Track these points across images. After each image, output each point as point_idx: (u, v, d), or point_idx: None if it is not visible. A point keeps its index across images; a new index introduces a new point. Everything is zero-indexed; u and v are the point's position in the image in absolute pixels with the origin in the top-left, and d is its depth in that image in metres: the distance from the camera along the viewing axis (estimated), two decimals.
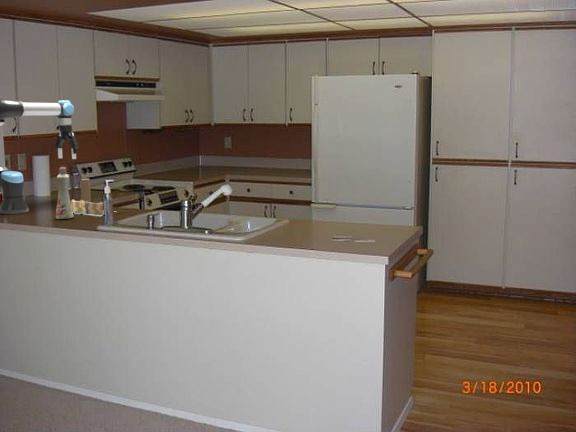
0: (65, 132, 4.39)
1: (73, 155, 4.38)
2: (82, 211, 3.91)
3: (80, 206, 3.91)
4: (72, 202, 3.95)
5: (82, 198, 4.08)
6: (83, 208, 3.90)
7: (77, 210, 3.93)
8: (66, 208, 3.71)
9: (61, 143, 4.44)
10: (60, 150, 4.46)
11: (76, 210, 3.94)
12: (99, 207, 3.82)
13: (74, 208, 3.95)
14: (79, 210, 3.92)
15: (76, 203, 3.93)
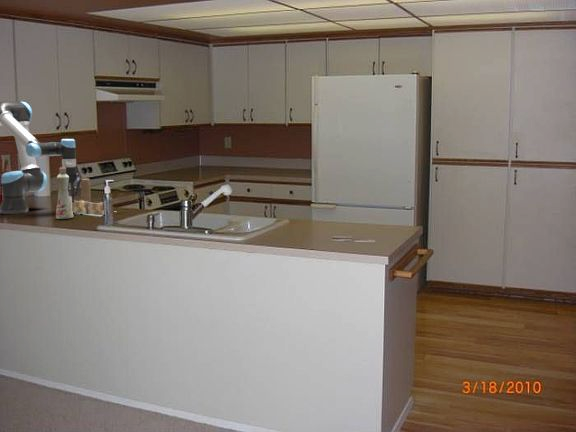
0: None
1: None
2: (82, 211, 3.91)
3: (80, 206, 3.91)
4: (72, 202, 3.95)
5: (82, 198, 4.08)
6: (83, 208, 3.90)
7: (77, 210, 3.93)
8: (66, 208, 3.71)
9: (71, 189, 3.92)
10: None
11: (76, 210, 3.94)
12: (99, 207, 3.82)
13: (74, 208, 3.95)
14: (79, 210, 3.92)
15: (76, 203, 3.93)
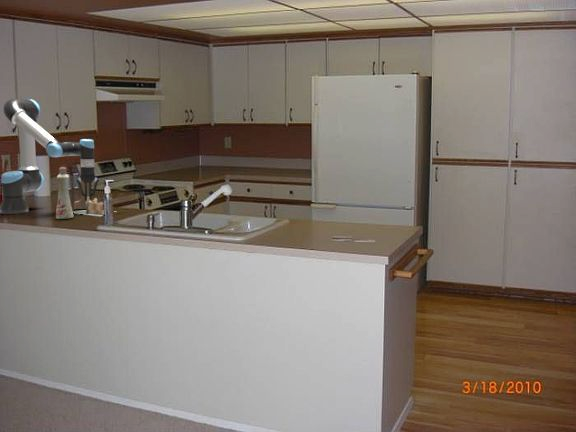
0: None
1: None
2: None
3: None
4: None
5: (82, 198, 4.08)
6: None
7: None
8: (66, 208, 3.71)
9: (89, 189, 3.96)
10: None
11: None
12: (99, 207, 3.82)
13: None
14: None
15: None
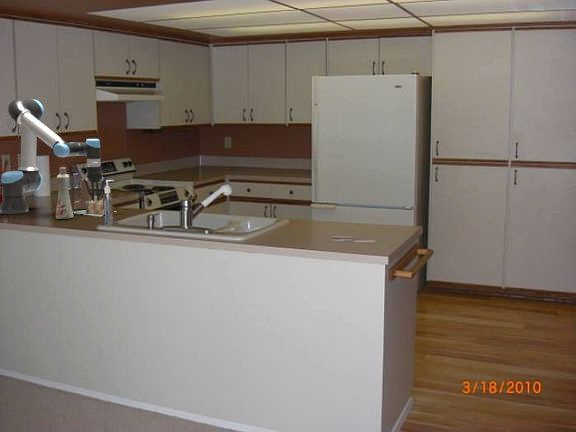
0: None
1: None
2: None
3: None
4: None
5: (82, 198, 4.08)
6: None
7: None
8: (66, 208, 3.71)
9: (96, 188, 3.97)
10: None
11: None
12: (99, 207, 3.82)
13: None
14: None
15: None
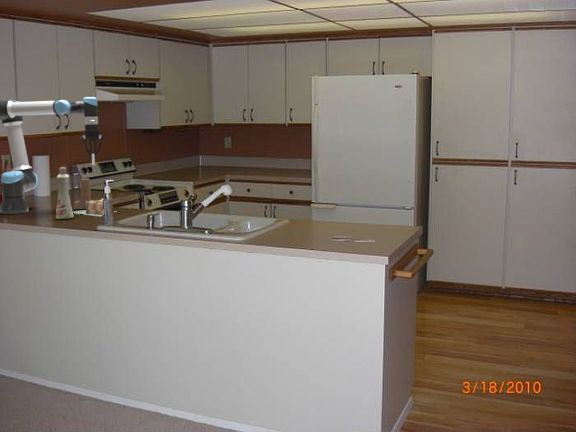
0: None
1: None
2: None
3: None
4: None
5: (82, 198, 4.08)
6: None
7: None
8: (66, 208, 3.71)
9: None
10: None
11: None
12: (99, 207, 3.82)
13: None
14: None
15: None
